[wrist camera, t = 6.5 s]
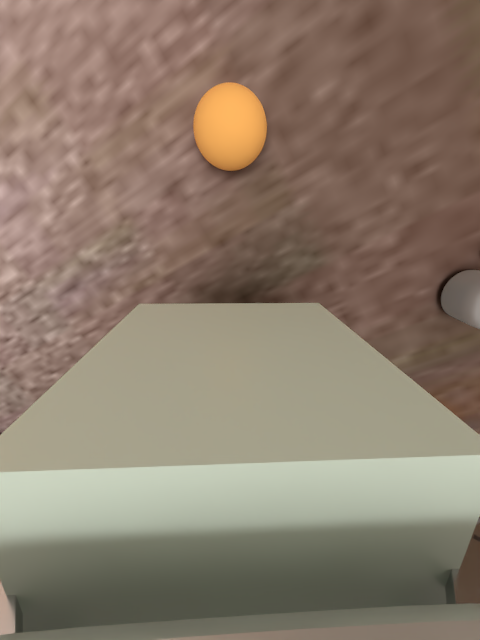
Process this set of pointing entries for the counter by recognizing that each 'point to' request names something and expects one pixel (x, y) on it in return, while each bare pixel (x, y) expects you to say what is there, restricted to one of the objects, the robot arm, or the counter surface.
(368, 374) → the pale sage cube
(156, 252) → the counter surface
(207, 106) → the ball
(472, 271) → the reed diffuser
